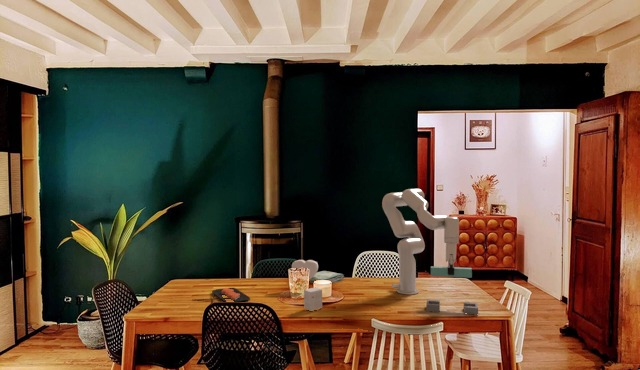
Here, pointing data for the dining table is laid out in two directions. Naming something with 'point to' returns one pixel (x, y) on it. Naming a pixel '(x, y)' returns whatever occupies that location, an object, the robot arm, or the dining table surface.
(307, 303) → the small box
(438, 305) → the end caps
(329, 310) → the dining table surface
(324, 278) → the towel
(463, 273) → the slat
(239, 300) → the sushi plate
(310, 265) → the heart sculpture
